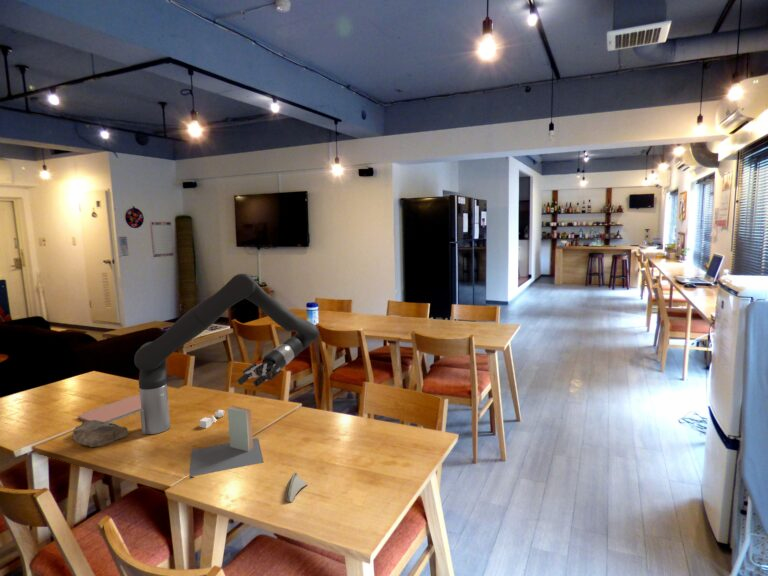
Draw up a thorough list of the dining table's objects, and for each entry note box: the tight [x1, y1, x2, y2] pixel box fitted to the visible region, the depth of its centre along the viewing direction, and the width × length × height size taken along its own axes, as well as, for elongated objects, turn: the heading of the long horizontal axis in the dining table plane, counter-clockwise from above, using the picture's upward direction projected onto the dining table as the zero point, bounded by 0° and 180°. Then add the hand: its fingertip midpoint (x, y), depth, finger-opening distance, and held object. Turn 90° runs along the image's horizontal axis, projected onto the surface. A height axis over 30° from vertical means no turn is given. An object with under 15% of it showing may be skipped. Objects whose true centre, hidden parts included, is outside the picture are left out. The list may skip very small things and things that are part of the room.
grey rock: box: [72, 420, 129, 448], centre depth 167 cm, size 14×5×20 cm
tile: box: [227, 405, 253, 451], centre depth 155 cm, size 2×8×14 cm, turn 66°
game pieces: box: [198, 409, 225, 429], centre depth 179 cm, size 12×3×3 cm, turn 163°
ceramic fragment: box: [285, 471, 308, 504], centre depth 132 cm, size 14×5×4 cm, turn 1°
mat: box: [188, 437, 264, 479], centre depth 151 cm, size 22×18×1 cm
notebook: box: [77, 394, 141, 423], centre depth 191 cm, size 27×17×2 cm, turn 149°
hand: (246, 383), depth 156 cm, fingers open, 8 cm apart
